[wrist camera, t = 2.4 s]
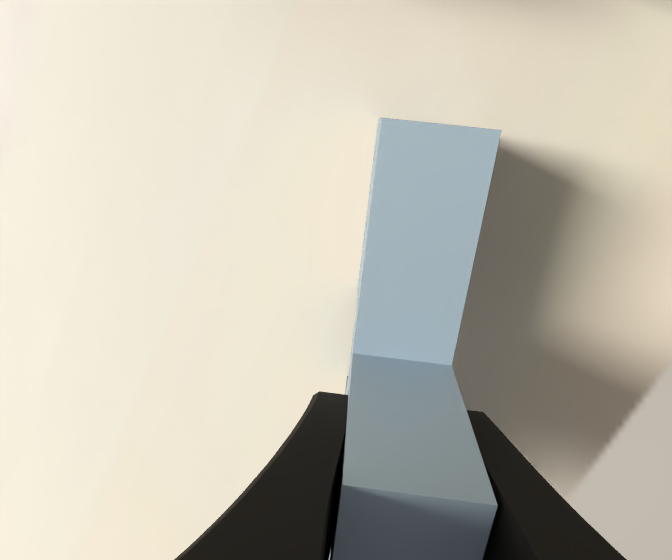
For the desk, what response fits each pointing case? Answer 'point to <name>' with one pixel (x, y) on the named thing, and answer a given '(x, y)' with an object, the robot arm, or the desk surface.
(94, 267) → the desk surface
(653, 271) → the desk surface
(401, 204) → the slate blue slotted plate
